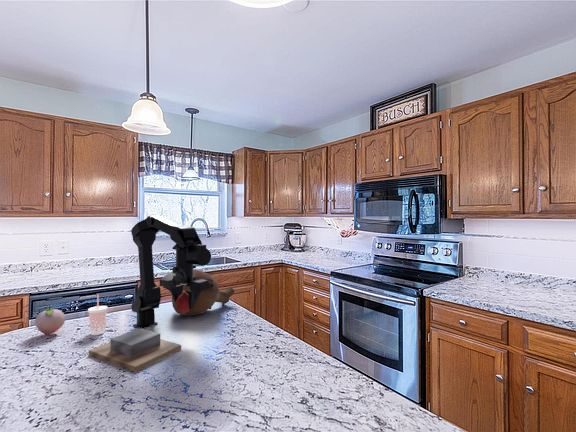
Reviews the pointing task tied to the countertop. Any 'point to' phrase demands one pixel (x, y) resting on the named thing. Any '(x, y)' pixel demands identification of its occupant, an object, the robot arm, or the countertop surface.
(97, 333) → the beverage cup
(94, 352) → the stacking base
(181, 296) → the onion
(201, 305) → the jug
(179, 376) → the countertop surface
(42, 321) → the decorative fruit
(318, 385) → the countertop surface
